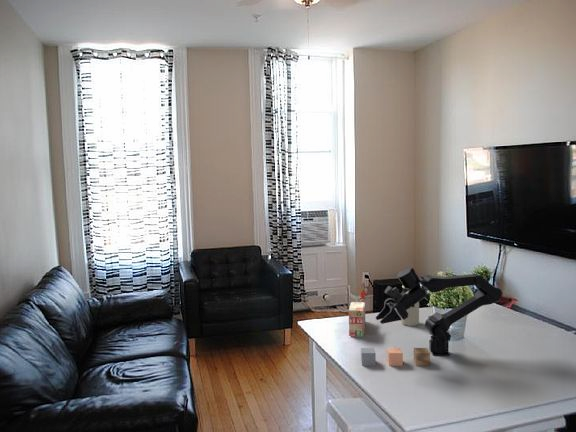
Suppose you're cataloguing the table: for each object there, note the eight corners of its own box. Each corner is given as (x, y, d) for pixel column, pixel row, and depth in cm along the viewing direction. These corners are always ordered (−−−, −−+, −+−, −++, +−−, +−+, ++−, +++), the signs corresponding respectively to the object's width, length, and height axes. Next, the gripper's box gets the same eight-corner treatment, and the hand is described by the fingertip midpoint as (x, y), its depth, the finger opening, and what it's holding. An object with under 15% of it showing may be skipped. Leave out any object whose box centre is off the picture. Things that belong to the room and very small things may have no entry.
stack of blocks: (352, 321, 230) (352, 296, 229) (365, 321, 229) (365, 296, 228) (349, 337, 210) (348, 309, 208) (363, 337, 208) (363, 310, 207)
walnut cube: (427, 360, 182) (427, 347, 182) (429, 365, 177) (430, 353, 177) (413, 360, 183) (413, 347, 182) (416, 365, 178) (416, 353, 177)
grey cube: (374, 360, 184) (374, 347, 183) (375, 365, 179) (375, 353, 178) (361, 360, 184) (360, 348, 184) (362, 365, 179) (362, 353, 179)
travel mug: (422, 324, 222) (422, 287, 220) (408, 327, 219) (408, 289, 217) (412, 319, 230) (412, 283, 228) (398, 322, 227) (398, 285, 225)
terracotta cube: (400, 360, 183) (400, 347, 183) (402, 365, 178) (402, 353, 178) (387, 360, 183) (387, 347, 183) (389, 365, 178) (389, 353, 178)
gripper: (393, 278, 195) (362, 300, 195) (405, 282, 177) (370, 306, 176) (409, 301, 195) (378, 323, 194) (422, 307, 176) (387, 331, 176)
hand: (378, 320), depth 185 cm, fingers open, 9 cm apart
